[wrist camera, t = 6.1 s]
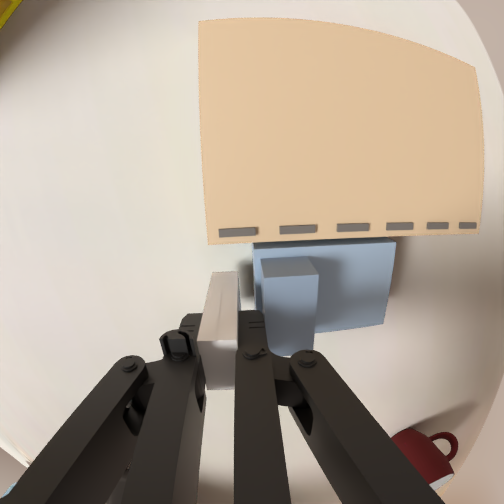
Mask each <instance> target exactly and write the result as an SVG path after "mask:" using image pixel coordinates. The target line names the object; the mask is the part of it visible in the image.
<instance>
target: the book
mask: <svg viewBox="0 0 504 504" xmlns="http://www.w3.org/2000/svg"><path fill="white" fill-rule="evenodd" d="M22 1H23V0H0V29H1V28H2V27H3V25H4V24H5V23H6V21H7V20H8V19H9V17H10V16H11V15H12V13H13V12H14V11H15V9H16V8H17V7H18V6H19V4H20V3H21V2H22Z"/></svg>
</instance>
